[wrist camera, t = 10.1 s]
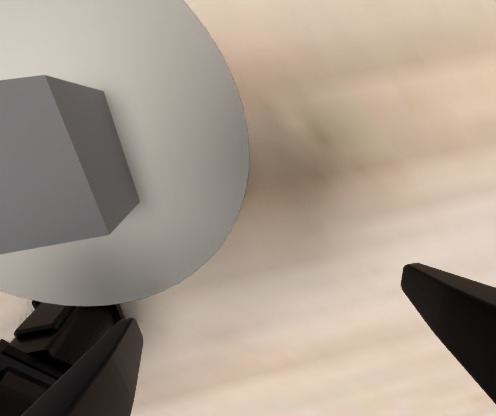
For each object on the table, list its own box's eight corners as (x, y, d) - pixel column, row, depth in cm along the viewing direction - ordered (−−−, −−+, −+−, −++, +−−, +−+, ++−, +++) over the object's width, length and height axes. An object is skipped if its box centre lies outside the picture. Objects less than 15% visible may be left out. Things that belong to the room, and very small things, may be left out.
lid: (263, 266, 11) (282, 321, 8) (-13, 321, 10) (-113, 408, 7) (215, -97, 6) (216, -291, 3) (-296, -60, 5) (-925, -285, 2)
